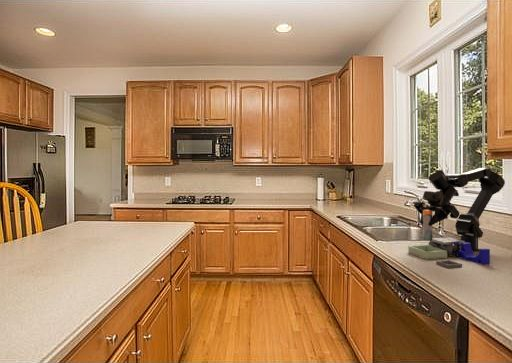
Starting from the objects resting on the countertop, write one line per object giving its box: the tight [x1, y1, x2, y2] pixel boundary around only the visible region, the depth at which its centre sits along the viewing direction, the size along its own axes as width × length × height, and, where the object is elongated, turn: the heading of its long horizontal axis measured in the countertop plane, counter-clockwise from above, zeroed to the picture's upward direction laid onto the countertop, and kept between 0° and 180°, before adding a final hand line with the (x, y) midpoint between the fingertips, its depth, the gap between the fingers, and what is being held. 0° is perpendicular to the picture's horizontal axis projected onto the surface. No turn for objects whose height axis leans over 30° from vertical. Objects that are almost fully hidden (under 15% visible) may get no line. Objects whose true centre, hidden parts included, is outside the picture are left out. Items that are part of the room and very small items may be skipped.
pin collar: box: [435, 259, 463, 269], centre depth 127 cm, size 6×6×1 cm
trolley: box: [427, 236, 465, 257], centre depth 145 cm, size 13×12×6 cm
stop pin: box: [422, 210, 434, 242], centre depth 142 cm, size 4×4×12 cm
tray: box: [407, 244, 448, 261], centre depth 142 cm, size 9×12×3 cm
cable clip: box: [457, 243, 491, 266], centre depth 134 cm, size 12×4×6 cm, turn 3°
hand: (425, 224), depth 141 cm, fingers closed on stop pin, 4 cm apart
